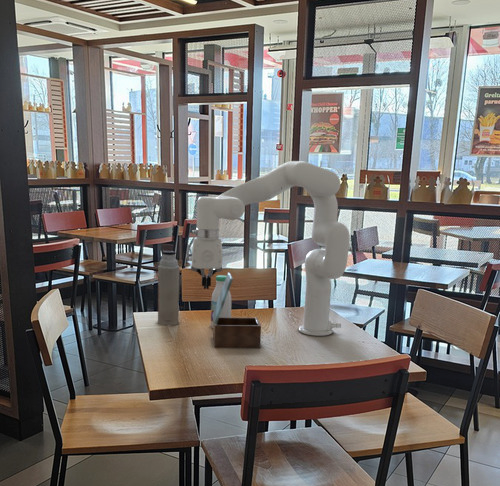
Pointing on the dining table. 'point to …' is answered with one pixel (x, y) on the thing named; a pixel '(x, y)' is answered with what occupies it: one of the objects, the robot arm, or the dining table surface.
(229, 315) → the milk bottle
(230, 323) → the brown wooden box
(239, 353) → the dining table surface
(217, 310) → the light blue flat slab
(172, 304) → the thermos bottle
